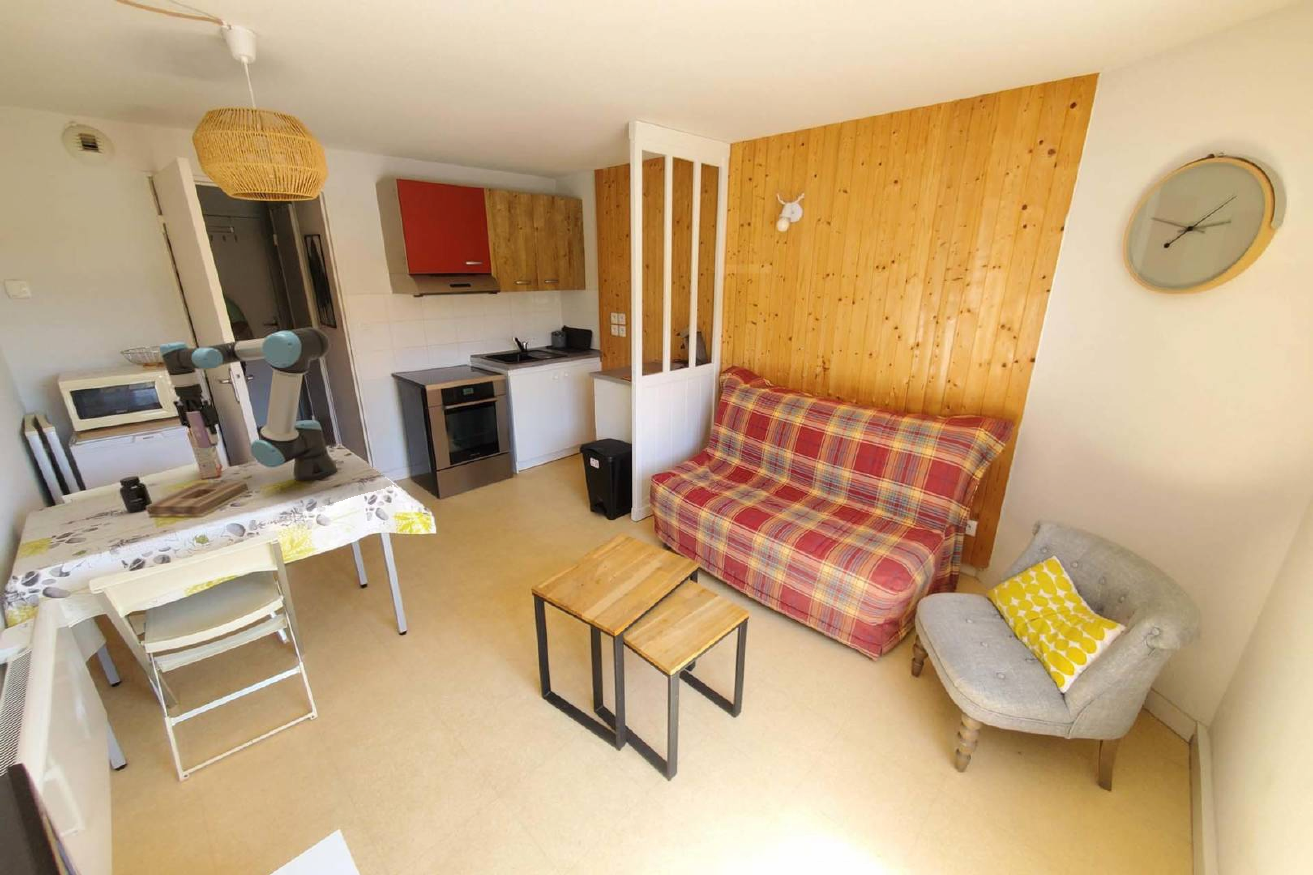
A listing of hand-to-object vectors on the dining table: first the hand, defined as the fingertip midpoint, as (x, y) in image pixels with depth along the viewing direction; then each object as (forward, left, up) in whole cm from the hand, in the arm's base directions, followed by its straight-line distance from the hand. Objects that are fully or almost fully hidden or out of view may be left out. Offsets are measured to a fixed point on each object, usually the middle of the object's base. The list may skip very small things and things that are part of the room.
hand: (207, 442), depth 196 cm
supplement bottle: (+13, +20, -19) cm, 30 cm away
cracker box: (+16, -13, -19) cm, 28 cm away
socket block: (-7, +16, -18) cm, 25 cm away
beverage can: (0, 0, -2) cm, 2 cm away
